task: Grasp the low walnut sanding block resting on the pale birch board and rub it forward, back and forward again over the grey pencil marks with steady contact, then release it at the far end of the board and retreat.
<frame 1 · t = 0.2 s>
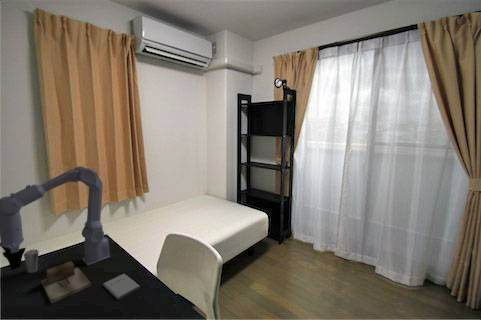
hand: (14, 264, 83), 10 cm above the table, fingers open, 7 cm apart
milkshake: (33, 271, 95), on the table
external hard drive: (121, 288, 86), on the table
board: (66, 284, 87), on the table
sanding block: (61, 277, 89), point 1 cm above the table, touching board
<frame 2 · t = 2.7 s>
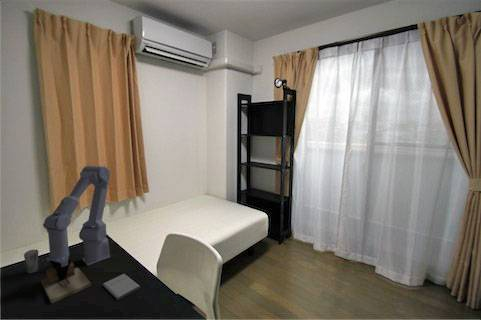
hand: (61, 276, 89), 2 cm above the table, fingers closed on sanding block, 4 cm apart
sanding block: (61, 277, 89), point 1 cm above the table, touching board, gripper
everything else where it was.
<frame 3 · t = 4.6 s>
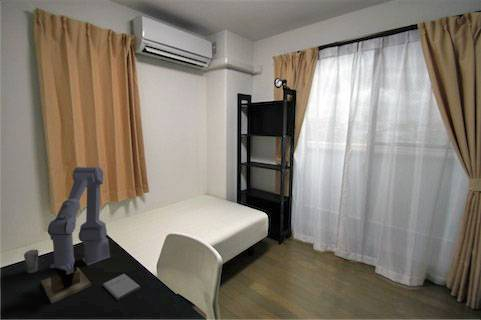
hand: (66, 283, 84), 2 cm above the table, fingers closed on sanding block, 4 cm apart
sanding block: (66, 285, 84), point 1 cm above the table, touching gripper
everything else where it was.
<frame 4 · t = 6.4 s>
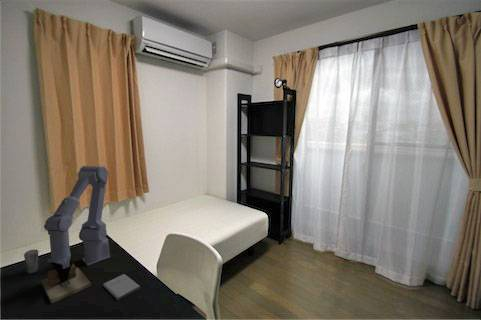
hand: (62, 278, 88), 2 cm above the table, fingers closed on sanding block, 4 cm apart
sanding block: (62, 279, 88), point 1 cm above the table, touching gripper
everything else where it was.
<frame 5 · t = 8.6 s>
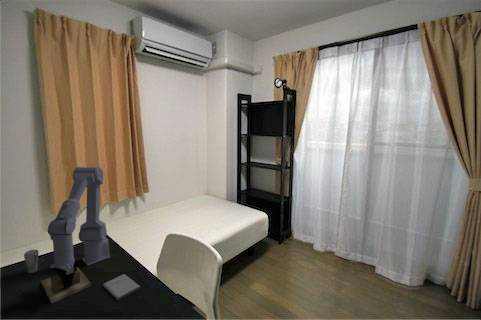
hand: (66, 283, 84), 2 cm above the table, fingers closed on sanding block, 4 cm apart
sanding block: (66, 285, 84), point 1 cm above the table, touching gripper
everything else where it was.
when the fingers open (2 cm above the table, at t = 10.2 s): sanding block stays where it is, resting on board.
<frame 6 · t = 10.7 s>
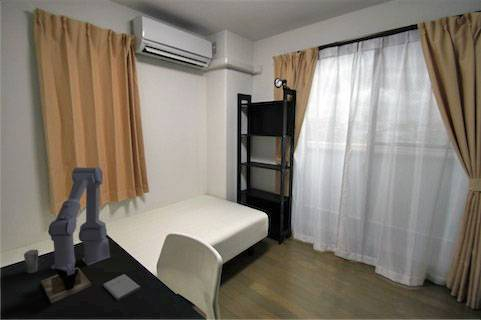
hand: (66, 284, 84), 2 cm above the table, fingers open, 7 cm apart
sanding block: (66, 286, 84), point 1 cm above the table, touching board
everything else where it was.
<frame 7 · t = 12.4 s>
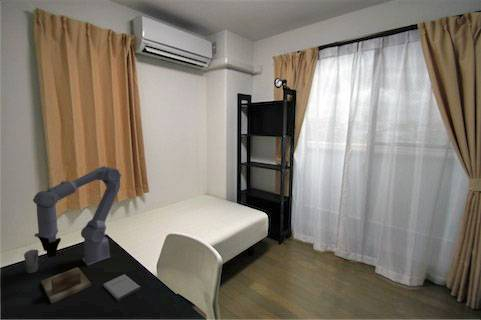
hand: (49, 253, 90), 10 cm above the table, fingers open, 7 cm apart
nothing on the table moved.
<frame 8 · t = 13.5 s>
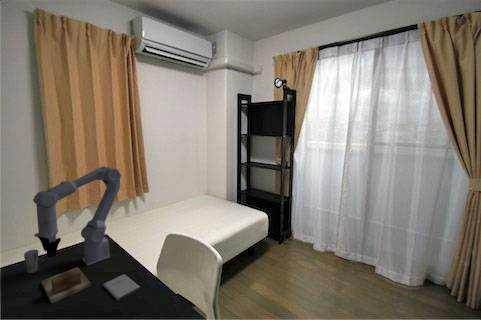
hand: (49, 253, 90), 10 cm above the table, fingers open, 7 cm apart
nothing on the table moved.
at the end: sanding block inside the target area (0.6 cm from its centre), point 1.2 cm above the table; sanding block moved 8.0 cm from its start; the gripper is holding nothing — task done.
